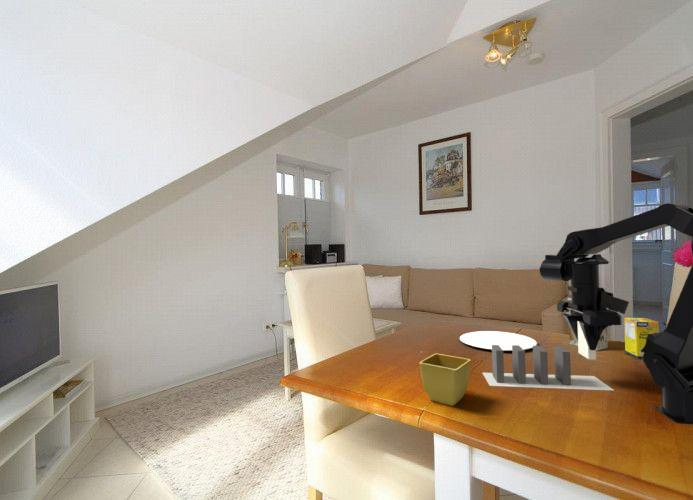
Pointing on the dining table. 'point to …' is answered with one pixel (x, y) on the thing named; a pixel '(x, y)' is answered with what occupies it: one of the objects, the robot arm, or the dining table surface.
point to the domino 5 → (584, 345)
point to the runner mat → (550, 382)
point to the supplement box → (638, 334)
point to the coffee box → (601, 344)
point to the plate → (497, 340)
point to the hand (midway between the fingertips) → (586, 346)
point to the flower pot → (445, 377)
